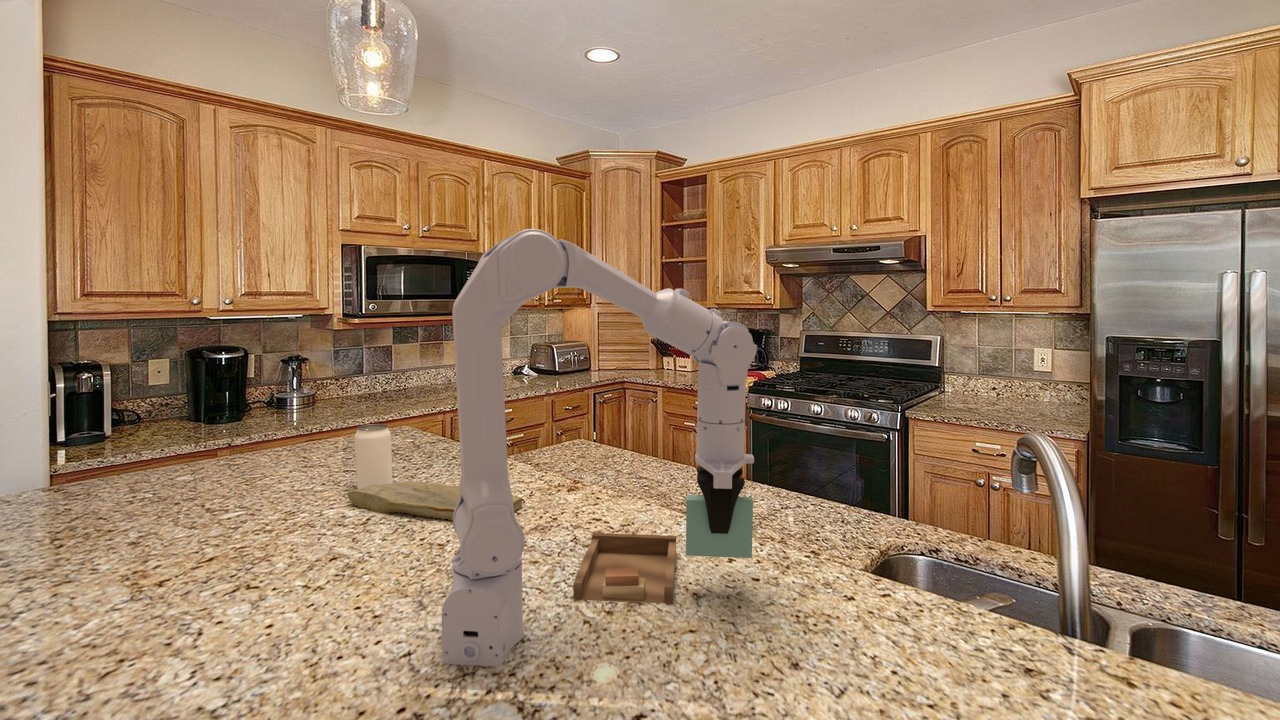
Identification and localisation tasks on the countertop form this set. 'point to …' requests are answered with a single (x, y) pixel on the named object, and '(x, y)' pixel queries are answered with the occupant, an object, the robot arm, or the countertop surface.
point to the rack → (628, 565)
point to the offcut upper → (622, 577)
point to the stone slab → (412, 498)
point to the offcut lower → (625, 591)
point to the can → (373, 455)
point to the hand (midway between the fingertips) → (719, 528)
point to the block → (719, 544)
